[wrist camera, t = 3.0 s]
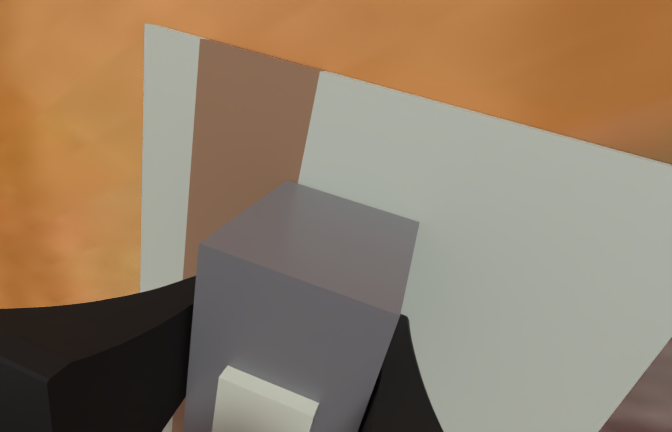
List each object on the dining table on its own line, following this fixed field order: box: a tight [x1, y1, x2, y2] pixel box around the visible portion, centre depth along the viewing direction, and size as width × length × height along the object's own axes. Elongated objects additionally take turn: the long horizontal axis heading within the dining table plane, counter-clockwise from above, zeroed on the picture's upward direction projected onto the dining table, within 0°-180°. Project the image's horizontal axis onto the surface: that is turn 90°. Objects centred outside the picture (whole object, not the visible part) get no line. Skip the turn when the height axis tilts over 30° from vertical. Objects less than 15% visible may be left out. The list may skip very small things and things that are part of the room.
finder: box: [183, 180, 420, 432], centre depth 12 cm, size 4×7×5 cm, turn 167°
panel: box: [140, 24, 672, 432], centre depth 16 cm, size 18×21×1 cm
